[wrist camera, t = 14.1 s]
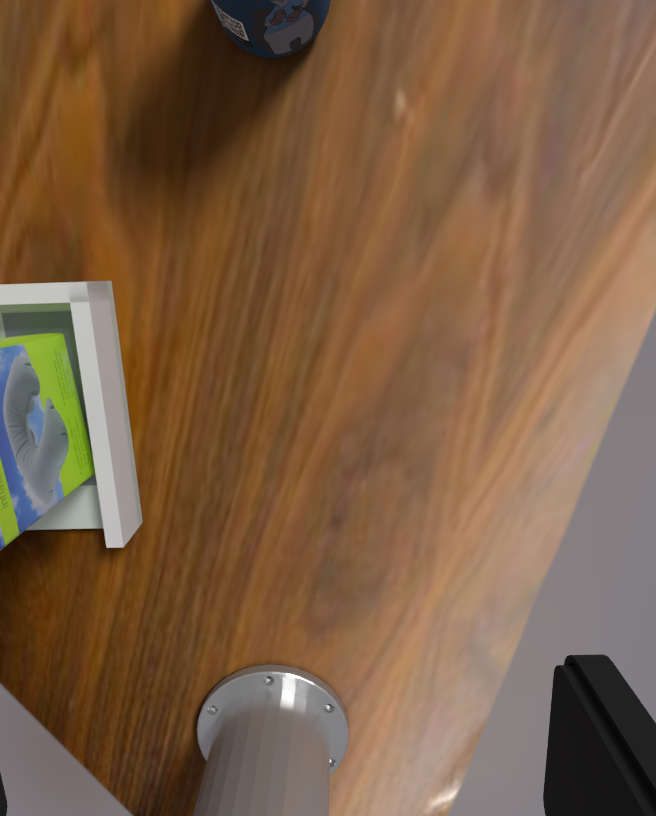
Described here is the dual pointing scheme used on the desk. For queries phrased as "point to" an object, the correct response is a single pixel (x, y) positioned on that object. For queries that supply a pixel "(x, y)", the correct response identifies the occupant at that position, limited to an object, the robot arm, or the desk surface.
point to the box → (38, 431)
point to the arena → (86, 399)
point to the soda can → (271, 24)
